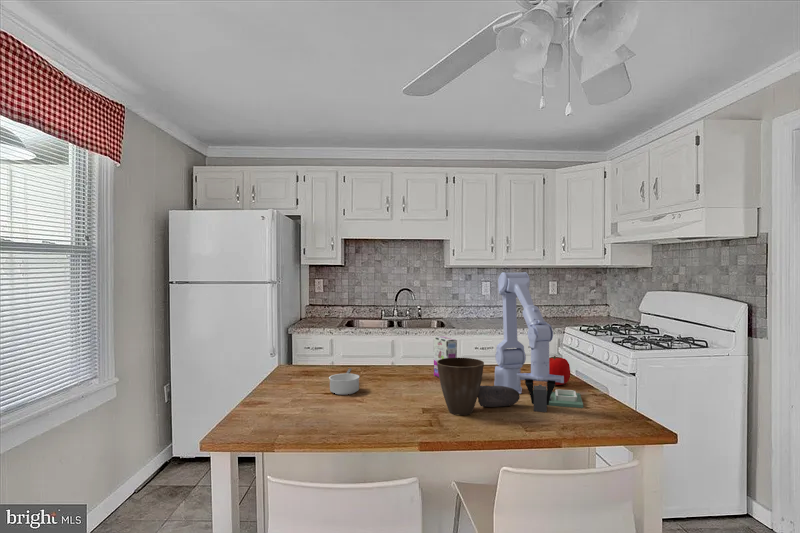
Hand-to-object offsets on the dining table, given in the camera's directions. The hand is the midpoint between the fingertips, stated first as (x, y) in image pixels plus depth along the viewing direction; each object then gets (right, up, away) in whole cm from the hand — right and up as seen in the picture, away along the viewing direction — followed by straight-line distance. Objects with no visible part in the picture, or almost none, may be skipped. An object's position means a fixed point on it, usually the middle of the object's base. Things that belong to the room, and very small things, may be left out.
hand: (540, 403), depth 156 cm
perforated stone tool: (-13, -2, +4) cm, 14 cm away
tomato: (+15, -2, +31) cm, 35 cm away
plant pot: (-26, -2, -2) cm, 26 cm away
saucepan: (-66, -2, +27) cm, 71 cm away
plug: (0, -2, 0) cm, 2 cm away
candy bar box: (-27, -2, +42) cm, 50 cm away
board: (+9, -2, +10) cm, 13 cm away
